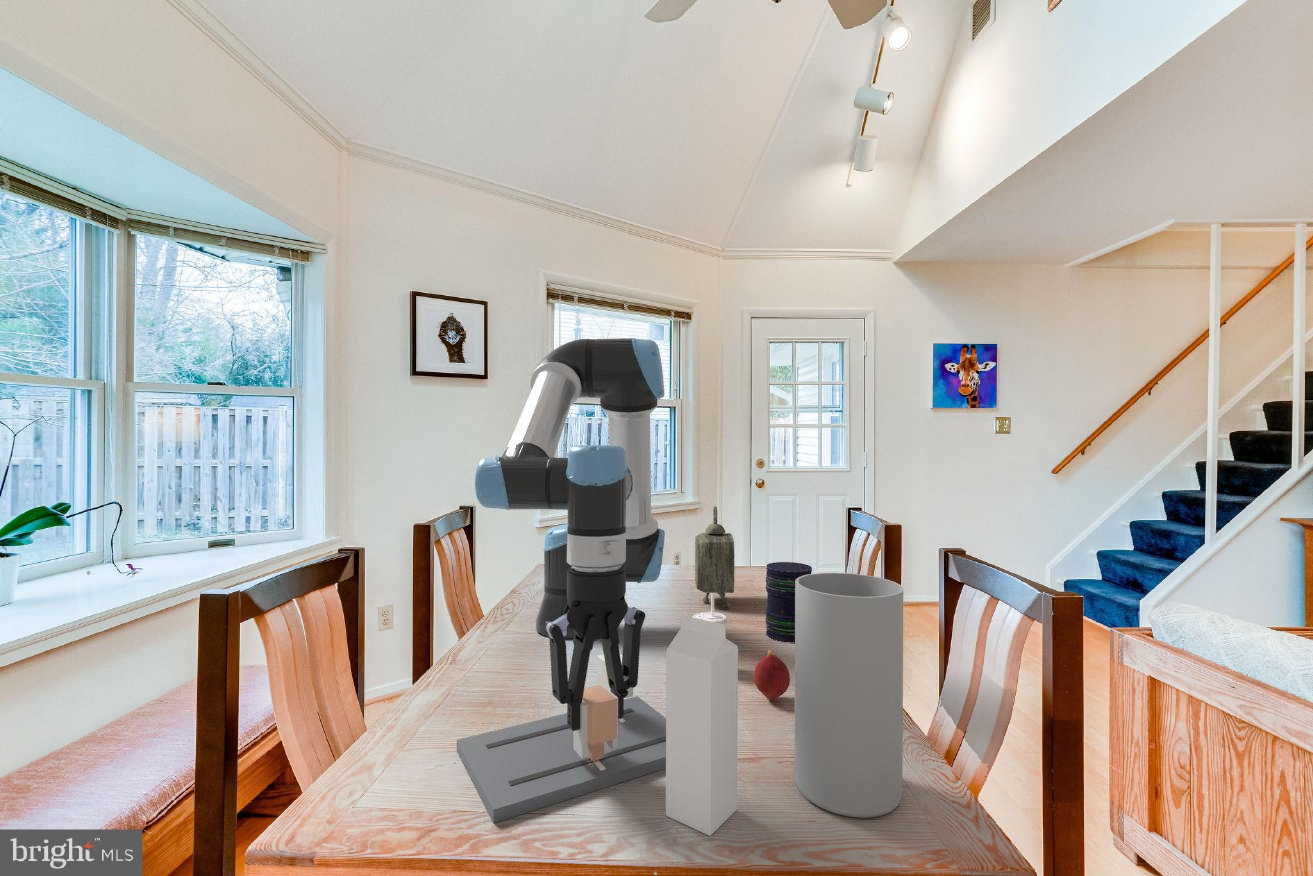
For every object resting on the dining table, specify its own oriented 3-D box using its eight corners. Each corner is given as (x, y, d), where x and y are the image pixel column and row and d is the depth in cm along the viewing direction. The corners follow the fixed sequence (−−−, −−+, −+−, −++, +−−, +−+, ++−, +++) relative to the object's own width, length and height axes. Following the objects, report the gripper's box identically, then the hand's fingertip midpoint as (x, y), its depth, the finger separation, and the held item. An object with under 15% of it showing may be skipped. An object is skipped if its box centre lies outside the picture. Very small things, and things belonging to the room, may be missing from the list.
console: (456, 750, 83) (456, 738, 83) (637, 705, 97) (637, 695, 97) (493, 823, 67) (493, 808, 67) (702, 756, 82) (702, 744, 82)
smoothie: (725, 676, 109) (725, 598, 109) (689, 673, 110) (689, 596, 110) (728, 663, 115) (728, 589, 115) (694, 661, 117) (694, 587, 117)
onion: (791, 695, 101) (792, 647, 101) (787, 710, 96) (787, 659, 96) (756, 690, 103) (757, 643, 103) (750, 704, 98) (750, 654, 98)
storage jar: (760, 639, 129) (761, 569, 129) (770, 626, 139) (770, 560, 139) (808, 645, 126) (809, 573, 126) (815, 631, 135) (815, 564, 135)
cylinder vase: (846, 834, 66) (847, 602, 66) (773, 776, 77) (774, 578, 77) (925, 802, 72) (926, 589, 72) (847, 753, 83) (848, 569, 83)
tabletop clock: (734, 611, 150) (734, 509, 150) (697, 611, 150) (697, 509, 150) (728, 596, 165) (728, 503, 165) (694, 595, 165) (695, 503, 165)
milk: (694, 792, 74) (695, 609, 74) (738, 810, 70) (739, 618, 70) (664, 817, 69) (665, 620, 69) (710, 838, 65) (711, 631, 65)
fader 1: (596, 708, 92) (596, 655, 92) (617, 703, 94) (617, 651, 94) (611, 722, 88) (611, 666, 88) (632, 716, 89) (633, 662, 89)
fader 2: (575, 751, 79) (575, 690, 79) (599, 744, 81) (600, 684, 81) (591, 769, 75) (591, 704, 75) (616, 762, 77) (617, 698, 77)
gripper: (545, 579, 71) (544, 781, 71) (667, 564, 79) (666, 745, 79) (524, 566, 77) (523, 752, 77) (639, 554, 86) (638, 721, 86)
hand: (595, 748), depth 78 cm, fingers closed on fader 2, 3 cm apart
